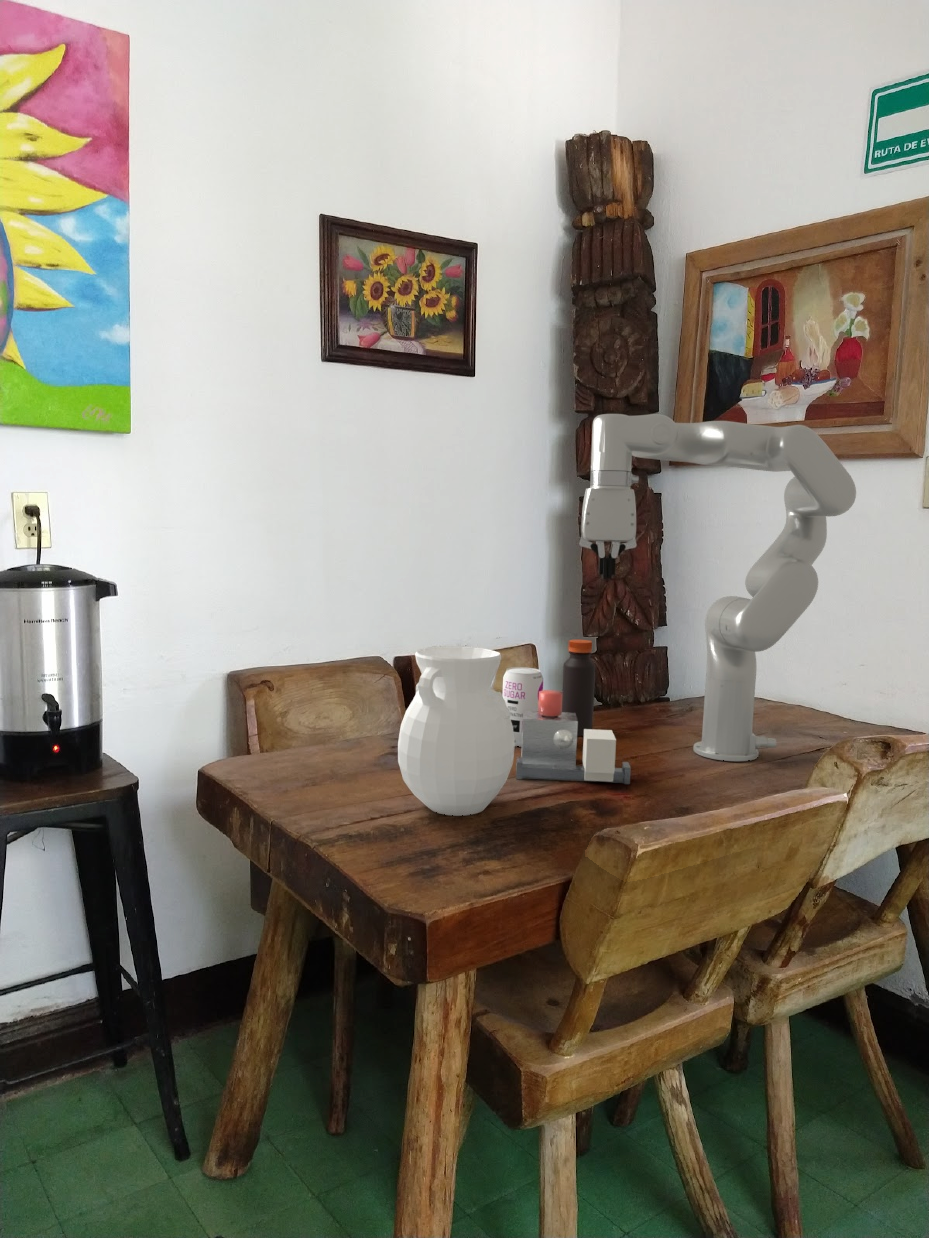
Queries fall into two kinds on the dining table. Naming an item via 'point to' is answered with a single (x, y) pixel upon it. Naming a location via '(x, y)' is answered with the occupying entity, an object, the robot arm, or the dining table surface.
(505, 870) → the dining table surface
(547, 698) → the button
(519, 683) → the supplement can
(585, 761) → the carriage
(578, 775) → the rail
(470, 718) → the pitcher
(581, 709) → the bottle
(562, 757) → the grey box
